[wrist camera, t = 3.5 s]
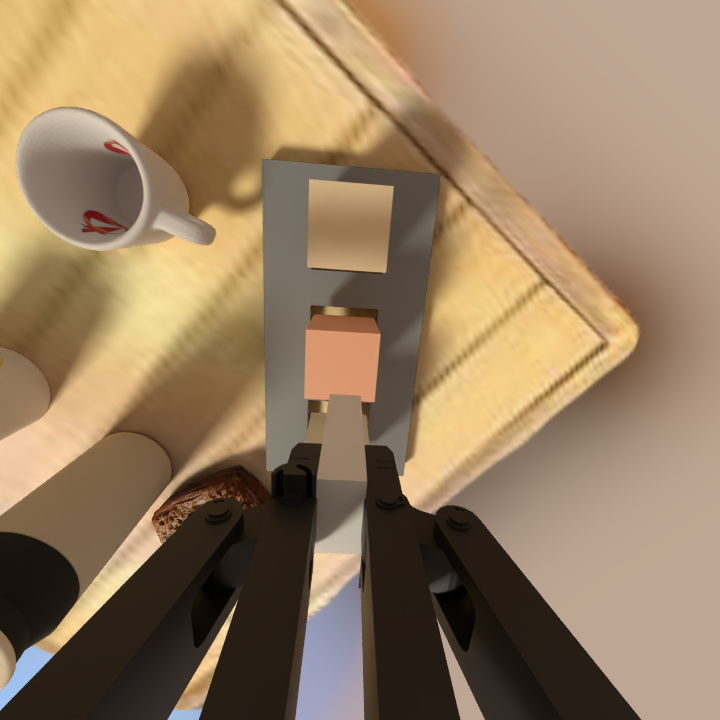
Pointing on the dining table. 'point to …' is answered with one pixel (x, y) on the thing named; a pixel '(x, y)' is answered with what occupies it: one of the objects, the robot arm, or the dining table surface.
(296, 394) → the board
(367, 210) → the oak block
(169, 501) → the pastry
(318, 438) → the sage block
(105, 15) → the dining table surface
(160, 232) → the cup
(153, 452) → the travel mug
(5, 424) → the white cylindrical canister
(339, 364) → the terracotta block
